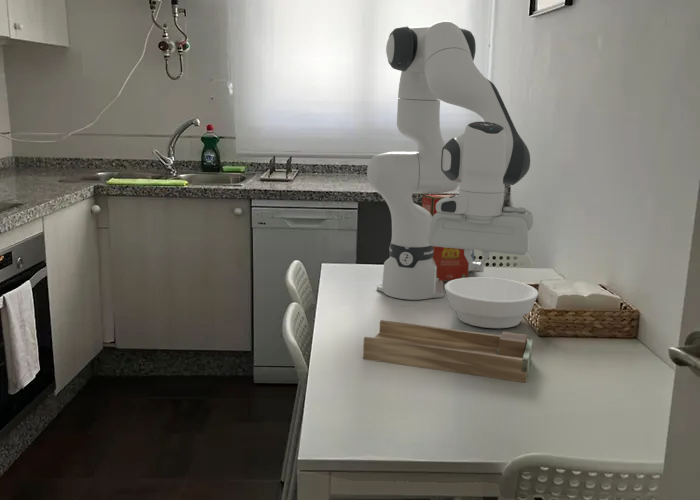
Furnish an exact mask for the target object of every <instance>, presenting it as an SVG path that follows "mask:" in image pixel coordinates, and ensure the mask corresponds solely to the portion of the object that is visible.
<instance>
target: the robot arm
mask: <svg viewBox="0 0 700 500" xmlns="http://www.w3.org/2000/svg"><path fill="white" fill-rule="evenodd" d="M385 47H386V48H385V53H386V57H387V61H388V64H389V66H390V67H391V68H392V69H394V70H396V71H399V72H400V71H401V73H400V77H399V84H398V93H397V113H396V127H397V130H398V131H399V133H400V134H402V135H403V136H405V137H406V138H408V139H410V140H412V141H414V142H415V143H416V144H417V151H388V152H383V153H378V154H377V153H376V154H375V155H373V157H371V159H370V160H369V162H368V165H367V169H366V176H367V177H366V178H367V181H368V183H369V185H370V187H371V188H372V189H374V190H375V191H376V192H377V193H378V194H379V195H380V196H381V197H382V198H383V199H384V200H385V203H386V204H387V206H388V209H389V212H390V217H391V242H390V243H389V258H387V259H386V260H385V261H384V263H383V272H382V281H381V284H379V285H377V286H376V290H377V291H379V292H382V293H384V294H385V295H386V296H389V297H392V298H395V299H400V300H401V299H402V300H413V301H414V300H415V301H416V300H417V301H418V300H427V299H432V298H435V299H436V298H443V297H444V281H441V280H439V278H436V270H437V266H436V263H435V261H434V259H433V256H434V248H433V246H435V247H445V248H456V249H464V255H465V257H466V259H467V261H468V263H469V272H475V273H484V270H485V263H486V262H487V260H488V259H489V258H490V256H491V253H499V254H509V255H510V254H511V255H520V256H522V255H523V256H524V255H525V254H526V253H528V252H529V250H530V230H531V229H532V228H533V223H534V216H533V214H532V212H531V211H529V210H527V208H525V207H514V206H506V205H505V206H504V198H505V186H504V185H507V186H514V185H515V184H517V183H518V182H520V181H521V180H523V178H524V177H525V176H526V175H527V173H528V172H529V170H530V167H531V153H530V151H529V148H528V146H527V144H526V143H525V141H524V139H522V137H521V136H520V134H519V133H518V131H517V129H516V127H515V124H514V122H513V120H512V118H511V116H510V114H509V111H508V110H507V107H506V105H505V103H504V101H503V99H502V96H501V95H500V92H499V91H498V88H497V87H496V85H495V84H494V83H493V82H492V81H491V80H489V79H488V78H486V77H485V76H484V74H483V73H481V71H480V70H479V69H478V67H477V66H476V64H475V62H474V60H475V57H476V49H477V48H476V38H475V36H474V35H473V33H472V32H471V31H470V30H468V29H465V28H462V27H460V26H458V24H456V23H454V22H452V21H449V20H444V21H443V20H442V21H438V22H435V23H433V24H431V25H430V26H428V25H426V26H424V25H423V26H407V25H406V26H400V27H395V28H394V29H393V30H392V31H391V32H389V36H388V40H387V42H386V46H385ZM441 102H443V103H445V104H449V105H453V106H457V107H460V108H463V109H466V110H468V111H472V112H474V113H475V114H476V115H479V116H480V117H481V118H482V119H483V121H474V122H470V123H468V124H467V125H466V127H465V129H464V133H463V134H461V135H459V136H457V137H452V138H451V139H449V140H448V141H446V143H445V141H444V139H443V137H442V132H441V126H440V125H441V123H440V121H441V120H440V119H441V118H440V117H441V116H440V114H441V113H440V112H441V111H440V110H441ZM457 188H459V190H458V191H459V192H458V193H459V194H452V195H453V196H450V197H446V198H443V199H441V200H439V201H438V202H437V203H436V211H437V213H436V214H435V215H434V216H433V217H432V215H431V213H430V212H429V211H428V210H426V209H424V208H423V207H422V205H419V204H417V203H415V202H414V200H413V194H443V193H448V192H453V191H455V190H457ZM473 250H474V251H479V252H482V255H481V256H482V257H483V259H482V260H481V261H475V262H474V261H473V259H472V257H471V254H472V252H473Z"/></svg>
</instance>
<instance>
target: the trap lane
mask: <svg viewBox="0 0 700 500" xmlns="http://www.w3.org/2000/svg"><path fill="white" fill-rule="evenodd" d="M500 337H501V334H492V333H487V332H485V333H484V332H476V331H470V330H463V329H462V330H461V329H452V328H446V327H438V326H437V327H436V326H431V325H430V326H429V325H424V324H423V325H421V324H415V323H414V324H413V323H407V322H398V321H391V320H383V319H381V320H380V321H379V332H378V333H377V334H376V335H375V337H371V336H365V337H363V353H362V355H363V357H362V359H363V360H367V361H368V360H369V361H377V362H381V363H382V362H383V363H388V364H396V365H402V366H409V367H410V366H411V367H417V368H423V369H431V370H439V371H445V372H450V373H456V374H457V373H458V374H463V375H464V374H465V375H471V376H477V377H486V378H490V379H491V378H492V379H499V380H505V381H511V382H520V383H527V378H528V375H529V370H530V366H531V363H532V353H533V344H534V343H533V342H534V339H532V338H527V342H526V348H525V352H524V356H523V358H518V357H510V356H503V355H498V353H499V340H500Z"/></svg>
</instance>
